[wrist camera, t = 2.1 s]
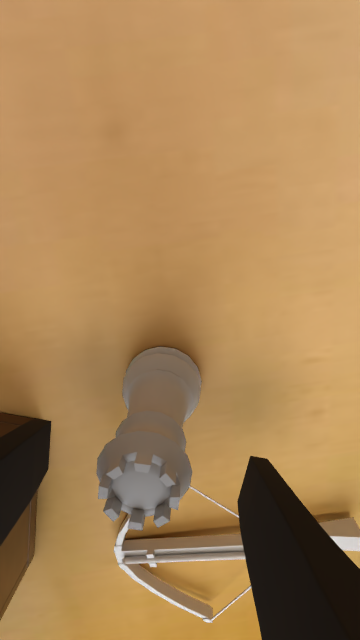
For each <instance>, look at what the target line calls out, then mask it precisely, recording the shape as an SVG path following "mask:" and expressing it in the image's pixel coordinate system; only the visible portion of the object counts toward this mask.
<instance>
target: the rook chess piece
mask: <svg viewBox="0 0 360 640" xmlns="http://www.w3.org/2000/svg"><path fill="white" fill-rule="evenodd" d="M201 382H202V381H201V377H200V373H199V370H198V367H197V366H196V365H195V363H194V362H193V361H192V360H191V358H190V357H189V356H188V355H186V354H184V353H182V352H180V351H179V350H177V349H175V348H167V347H156V348H151V349H147V350H144V351H143V352H142V353H140V354H139V355H138V356H136V357H135V358H133V360H132V362H131V363H130V365H129V367H128V369H127V370H126V375H125V377H124V379H123V391H122V394H123V398H124V401H125V404H126V407H127V409H128V415H127V418H126V419H125V420H123V421H122V423H121V424H120V426H119V428H118V429H117V431H116V438H115V439H113V440H112V441H110V442H109V443H107V444H106V445H105V447H104V449H103V450H102V452H101V454H100V455H99V457H98V461H97V476H98V479H99V481H100V484H99V492H98V499H107V498H108V499H107V501H106V504H105V507H104V510H103V512H104V513H105V514H106V515H107V516H108V517H109V518H110V519H111V520H112V521H113V522H114V521H115V520H116V519H117V518H118V517H119V515H120V511H121V510H122V511H124V512H126V513H128V514H130V519H129V523H128V527H127V528H128V529H135V530H142V531H143V526H144V520H145V517H146V516H152V515H154V520H153V521H154V523H155V525H156V526H157V528H158V527H160V526H162V525H164V524H165V523H167V522H169V521H170V514H171V508H173V509H176V510H178V506H179V500H181V498H182V497H183V495H184V494H185V493H186V491H187V490H188V489H189V487H190V482H191V476H192V469H191V466H190V462H189V459H188V456H187V455H186V453H185V446H186V439H185V436H184V432H183V429H182V427H183V423H184V422H185V421H186V419H188V418H189V417H190V416H191V414H192V413H193V411H194V410H195V408H196V407H197V405H198V403H199V398H200V392H201Z"/></svg>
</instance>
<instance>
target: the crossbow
mask: <svg viewBox="0 0 360 640" xmlns="http://www.w3.org/2000/svg"><path fill="white" fill-rule="evenodd" d="M190 488H191V489H193V490H194V491H196V492H198V493H199V494H201V495H203V496H204V497H206V498H207V499H209V500H211V501H212V502H214V503H216V504H217V505H219V506H220V507H222V508H224V509H225V510H227V511H229V512H230V513H232V514H233V515H235V516H237V517H238V518H239V515H237V514H236V513H234V512H232V511H231V510H229V509H228V508H226V507H224V506H223V505H221V504H219V503H218V502H216V501H215V500H213V499H211V498H210V497H208V496H206V495H205V494H203V493H202V492H200V491H198V490H197V489H195V488H193V487H192V486H190ZM129 519H130V514H128V515H127V517H126V518H125V520H124V522H123V523H122V525H121V528H120V531H119V534H118V537H117V540H116V543H115V547H114V552H115V555H116V558H117V561H118V565H119V566H120V568H121V569H122V570H124V571H125V572H126V573H127V574H128V575H129V576H130V577H131V578H133V579H134V580H135V581H137V582H138V583H140V584H141V585H143V586H144V587H146V588H147V589H149V590H150V591H151V592H153V593H155V594H157V595H158V596H160V597H162V598H164V599H165V600H167V601H169V602H171V603H172V604H174V605H176V606H178V607H180V608H182V609H184V610H186V611H188V612H190V613H192V614H195V615H197V616H199V617H201V618H203V620H204V621H205V622H206V623H209V622H213V619H215V618H216V617H217V616H218V615H219V614H220V613H222V612H223V611H224V610H225V609H226V608H228V607H229V606H230V605H231V604H232V603H234V602H235V601H236V600H237V599H238V598H240V597H241V596H242V595H243V594H244V593H245V592H247V591H248V590H249V589H250V588H251V585H250V586H249V587H248V588H247V589H246V590H244V591H243V592H242V593H241V594H240V595H239V596H237V597H236V598H235V599H234V600H233V601H231V602H230V603H229V604H228V605H227V606H226V607H224V608H223V609H222V610H221V611H220V612H218V613H217V614H216V615H215V616H214V617H213V608H212V607H211V606H209V605H208V604H205V603H203V602H201V601H199V600H197V599H195V598H193V597H191V596H188V595H186V594H184V593H183V592H181V591H179V590H177V589H176V588H174V587H172V586H170V585H169V584H167V583H165V582H163V581H162V580H160V579H159V578H157V577H156V576H154V575H153V574H151V573H150V572H148V571H147V570H146V569H144V568H143V567H141V566H140V565H139V564H138V563H149V565H150V567H157V563H160V562H185V561H210V560H235V559H246V558H245V553H244V548H243V543H242V538H241V534H228V535H210V536H191V537H173V538H154V539H136V540H125V534H126V532H127V531H128V528H127V527H128V523H129ZM319 524H320V525H321V527H322V528H323V529H324V530H325V531H326V532H327V534H328V535H329V536H330V537H331V538H332V539H333V540H334V542H335V543H336V544H337V545H338V546H339V547H340V548H341V549H342V550H347V551H360V529H359V527H358V525H357V523H356V521H355V520H354V518H353V517H352V518H345V519H339V520H333V521H326V522H320V523H319Z"/></svg>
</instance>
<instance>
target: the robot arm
mask: <svg viewBox="0 0 360 640" xmlns="http://www.w3.org/2000/svg"><path fill="white" fill-rule="evenodd" d="M50 432H51V421H48V420H42V419H36V418H34V419H32V420H30V421H28V422H26V423H24V424H23V425H21V426H19V427H17V428H16V429H14V430H12V431H10V432H9V433H7V434H5V435H3V436H2V437H0V546H1V545H2V543H3V542H4V540H5V539H6V537H7V536H8V534H9V533H10V531H11V530H12V528H13V527H14V526H15V524H16V523H17V521H18V520H19V518H20V517H21V515H22V514H23V512H24V511H25V509H26V508H27V506H28V505H29V503H30V501H31V500H32V498H33V496H34V495H35V493H36V491H37V489H38V487H39V485H40V484H41V482H42V480H43V478H44V476H45V474H46V472H47V470H48V465H49V448H50ZM238 512H239V522H240V531H241V538H242V543H243V548H244V553H245V558H246V563H247V568H248V573H249V578H250V582H251V587H252V592H253V597H254V602H255V606H256V611H257V616H258V621H259V626H260V631H261V637H262V640H360V569H359V568H358V567H357V566H356V565H355V564H354V563H353V562H352V560H351V559H350V558H349V557H348V556H347V555H346V554H345V553H344V552H343V551H342V549H341V548H340V547H339V546H338V545H337V544H336V543H335V542H334V540H333V539H332V538H331V537H330V536H329V535H328V534H327V532H326V531H325V530H324V529H323V528H322V527H321V525H320V524H319V523H318V522H317V521H316V520H315V518H314V517H313V516H312V515H311V514H310V512H309V511H308V510H307V509H306V507H305V506H304V505H303V504H302V502H301V501H300V500H299V499H298V497H297V496H296V495H295V494H294V492H293V491H292V490H291V488H290V487H289V486H288V485H287V483H286V482H285V481H284V479H283V478H282V477H281V476H280V474H279V473H278V472H277V470H276V469H275V468H274V467H273V465H272V464H271V463H270V462H269V460H268V459H265V458H259V457H254V456H250V459H249V463H248V466H247V470H246V473H245V477H244V481H243V484H242V488H241V491H240V495H239V498H238Z"/></svg>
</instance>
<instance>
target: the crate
mask: <svg viewBox="0 0 360 640" xmlns="http://www.w3.org/2000/svg"><path fill="white" fill-rule="evenodd" d="M32 419H33V418H28V417H22V416H16V415H10V414H5V413H0V437H2V436H3V435H5V434H7V433H9V432H10V431H12V430H14V429H16V428H17V427H19V426H21V425H23V424H24V423H26V422H28V421H30V420H32ZM36 506H37V491H36V493H35V495H34V496H33V498H32V500H31V501H30V503H29V505H28V506H27V508H26V509H25V511H24V512H23V514H22V515H21V517H20V518H19V520H18V521H17V523H16V524H15V526H14V527H13V528H12V530H11V531H10V533H9V534H8V536H7V537H6V539H5V540H4V542H3V543H2V545H1V546H0V620H1V618H2V616H3V614H4V612H5V611H6V609H7V607H8V605H9V603H10V601H11V599H12V597H13V595H14V593H15V591H16V589H17V587H18V586H19V584H20V582H21V580H22V578H23V576H24V574H25V572H26V570H27V568H28V566H29V564H30V563H31V561H32V559H33V557H34V544H35V525H36Z"/></svg>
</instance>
